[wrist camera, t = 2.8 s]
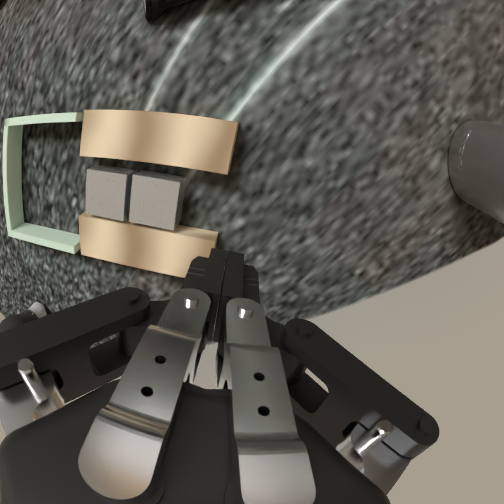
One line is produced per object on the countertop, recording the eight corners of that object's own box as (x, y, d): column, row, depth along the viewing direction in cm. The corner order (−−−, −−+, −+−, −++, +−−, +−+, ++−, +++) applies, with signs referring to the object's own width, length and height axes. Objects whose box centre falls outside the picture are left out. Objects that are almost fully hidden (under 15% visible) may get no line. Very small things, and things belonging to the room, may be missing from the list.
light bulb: (29, 281, 27) (-14, 326, 18) (59, 304, 28) (19, 356, 19) (28, 307, 29) (-8, 351, 20) (56, 328, 30) (22, 377, 21)
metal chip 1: (139, 169, 22) (126, 174, 19) (134, 212, 23) (123, 221, 21) (101, 164, 21) (87, 169, 19) (99, 205, 23) (85, 213, 21)
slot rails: (239, 123, 20) (237, 122, 18) (211, 271, 26) (208, 282, 24) (96, 110, 19) (84, 110, 17) (90, 245, 25) (81, 254, 23)
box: (91, 112, 19) (76, 112, 17) (86, 243, 24) (74, 254, 22) (20, 116, 18) (4, 119, 16) (21, 227, 24) (8, 235, 21)
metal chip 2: (187, 176, 22) (180, 182, 20) (181, 220, 24) (173, 230, 21) (144, 169, 22) (132, 174, 19) (140, 212, 23) (129, 221, 21)
